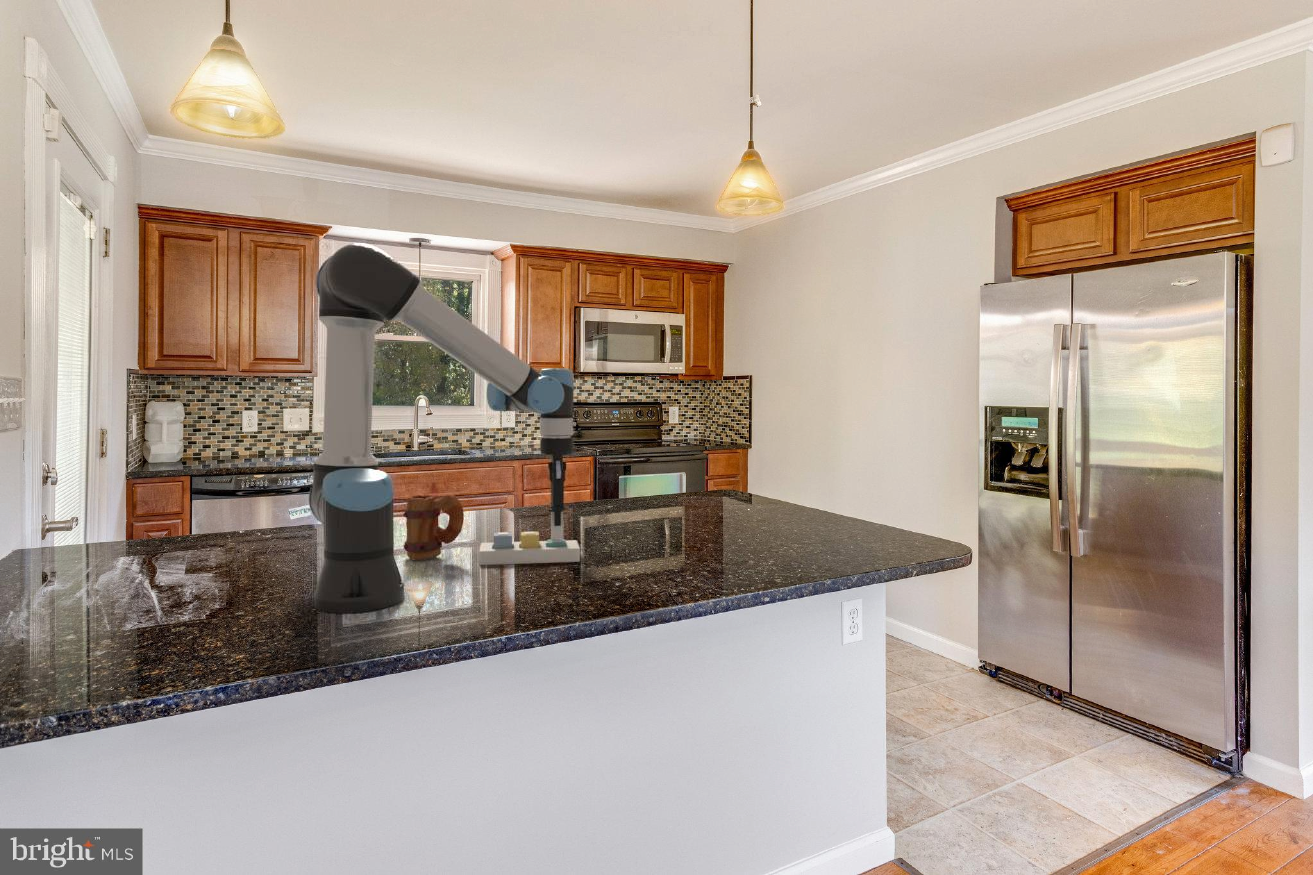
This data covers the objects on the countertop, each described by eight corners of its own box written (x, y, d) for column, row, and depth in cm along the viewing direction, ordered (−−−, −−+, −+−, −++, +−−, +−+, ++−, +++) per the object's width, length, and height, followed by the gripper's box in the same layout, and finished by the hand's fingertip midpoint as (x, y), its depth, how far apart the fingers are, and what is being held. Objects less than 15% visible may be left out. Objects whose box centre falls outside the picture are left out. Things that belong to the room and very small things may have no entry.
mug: (394, 560, 161) (393, 494, 160) (416, 553, 169) (415, 489, 168) (451, 566, 157) (450, 497, 156) (471, 558, 164) (471, 492, 163)
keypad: (479, 564, 158) (479, 551, 158) (481, 555, 167) (481, 542, 167) (579, 561, 162) (579, 548, 162) (576, 552, 171) (576, 540, 171)
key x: (521, 549, 162) (521, 534, 162) (520, 545, 166) (520, 531, 166) (539, 548, 163) (539, 534, 163) (538, 545, 167) (538, 530, 166)
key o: (493, 550, 161) (493, 535, 161) (494, 546, 165) (494, 531, 164) (511, 549, 162) (511, 534, 161) (511, 545, 165) (511, 531, 165)
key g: (548, 556, 163) (548, 542, 163) (547, 553, 167) (547, 538, 167) (565, 556, 164) (565, 541, 164) (564, 552, 168) (564, 538, 168)
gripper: (575, 438, 158) (575, 544, 160) (571, 434, 171) (571, 532, 173) (541, 438, 157) (541, 545, 158) (539, 434, 170) (539, 533, 171)
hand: (557, 538), depth 165 cm, fingers closed
